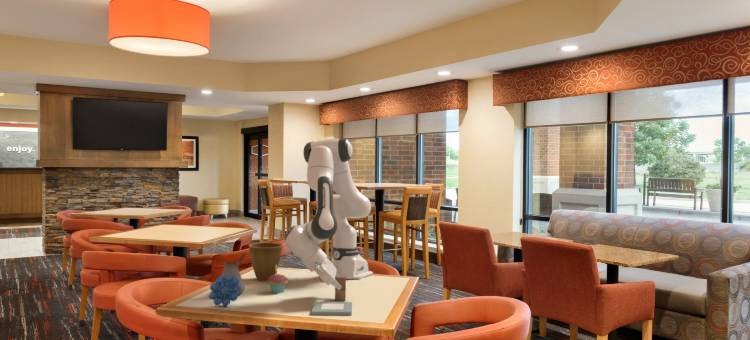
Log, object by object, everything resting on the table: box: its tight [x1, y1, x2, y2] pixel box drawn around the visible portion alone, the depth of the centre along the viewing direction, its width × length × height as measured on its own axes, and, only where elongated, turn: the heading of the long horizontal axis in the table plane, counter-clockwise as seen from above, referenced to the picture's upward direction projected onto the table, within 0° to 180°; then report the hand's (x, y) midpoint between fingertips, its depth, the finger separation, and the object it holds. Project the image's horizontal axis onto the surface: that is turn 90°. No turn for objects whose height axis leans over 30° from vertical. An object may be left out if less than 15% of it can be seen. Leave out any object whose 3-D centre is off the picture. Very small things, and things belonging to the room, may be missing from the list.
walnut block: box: [334, 276, 347, 302], centre depth 213 cm, size 4×4×9 cm
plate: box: [311, 301, 353, 316], centre depth 198 cm, size 14×14×1 cm
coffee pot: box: [220, 251, 250, 296], centre depth 224 cm, size 21×12×15 cm, turn 170°
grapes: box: [208, 274, 241, 307], centre depth 202 cm, size 12×7×12 cm, turn 98°
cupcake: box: [266, 265, 289, 294], centre depth 226 cm, size 9×8×12 cm
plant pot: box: [248, 242, 283, 282], centre depth 249 cm, size 15×15×16 cm
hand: (341, 286), depth 213 cm, fingers open, 8 cm apart
